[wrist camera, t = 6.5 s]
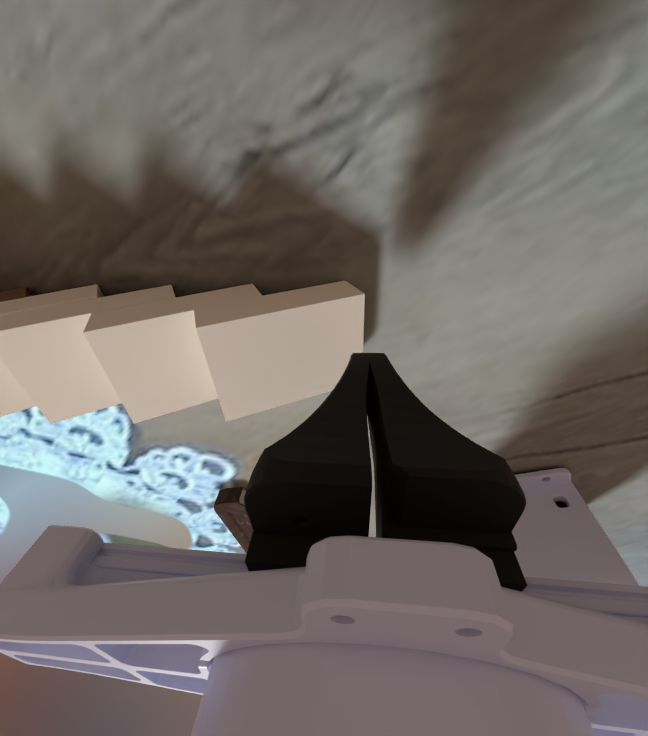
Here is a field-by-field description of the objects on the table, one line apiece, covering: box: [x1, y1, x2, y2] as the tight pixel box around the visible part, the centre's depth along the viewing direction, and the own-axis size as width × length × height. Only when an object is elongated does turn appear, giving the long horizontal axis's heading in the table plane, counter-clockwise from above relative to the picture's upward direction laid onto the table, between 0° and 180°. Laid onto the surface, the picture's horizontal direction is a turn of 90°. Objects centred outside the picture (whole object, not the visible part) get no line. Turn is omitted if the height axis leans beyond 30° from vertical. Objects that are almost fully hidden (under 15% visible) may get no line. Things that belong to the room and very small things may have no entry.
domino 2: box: [0, 285, 176, 424], centre depth 15 cm, size 2×5×7 cm
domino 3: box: [83, 284, 262, 423], centre depth 15 cm, size 2×5×7 cm
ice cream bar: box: [214, 487, 253, 553], centre depth 29 cm, size 5×2×15 cm
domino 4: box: [194, 281, 365, 422], centre depth 14 cm, size 2×5×7 cm
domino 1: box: [0, 284, 104, 417], centre depth 15 cm, size 2×5×7 cm
